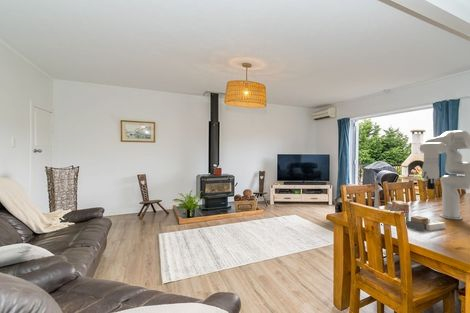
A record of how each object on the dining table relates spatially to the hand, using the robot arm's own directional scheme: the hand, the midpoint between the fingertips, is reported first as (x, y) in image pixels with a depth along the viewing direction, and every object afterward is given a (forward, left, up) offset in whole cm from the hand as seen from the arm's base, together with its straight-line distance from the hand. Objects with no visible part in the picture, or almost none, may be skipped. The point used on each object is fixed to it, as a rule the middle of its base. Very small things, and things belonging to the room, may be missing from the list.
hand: (430, 189), depth 155 cm
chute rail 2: (+2, +5, -25) cm, 25 cm away
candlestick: (+26, -18, -25) cm, 40 cm away
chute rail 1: (+2, -4, -25) cm, 25 cm away
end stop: (+15, 0, -25) cm, 29 cm away
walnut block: (+10, 0, -25) cm, 27 cm away
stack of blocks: (0, -23, -25) cm, 34 cm away
